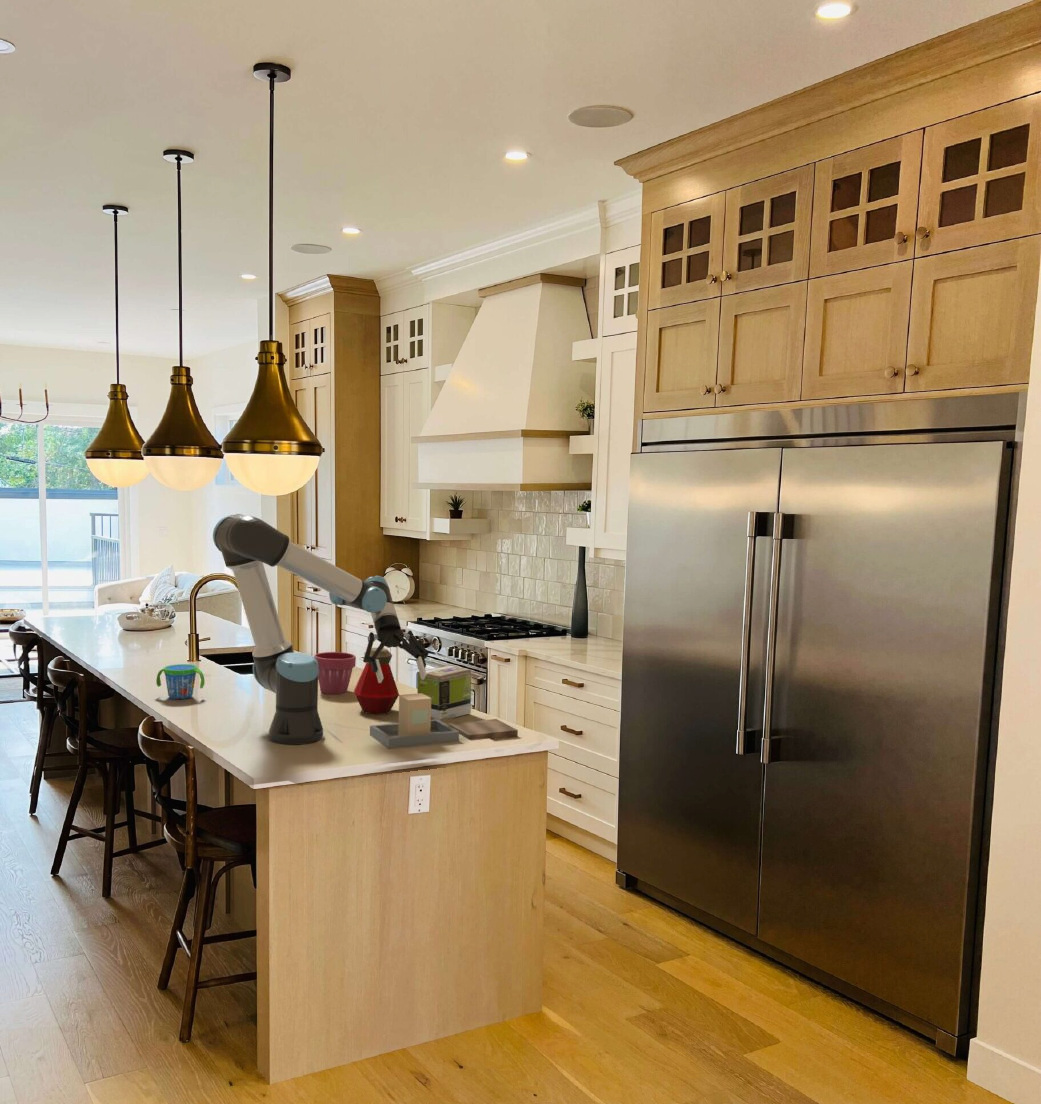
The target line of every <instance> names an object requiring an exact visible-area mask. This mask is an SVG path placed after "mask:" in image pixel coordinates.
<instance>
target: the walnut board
mask: <svg viewBox="0 0 1041 1104" xmlns="http://www.w3.org/2000/svg"><path fill="white" fill-rule="evenodd" d="M448 726H450V727H452V728H454V729H455V730H457V731H459V736H462V737H464V738H465V739H467V740H474V739H475V740H476V739H485V738H488V739H489V740H499V738H501V739H509V738H516V737H517V738H518V736H519V735H518V734H519V733H518V732H519V731H518V729H517V728H515V727H513V726H511V725H509V724H507V723H505V722H503V721H501V720H499V719H497V718H491V719H484V720H483V719H482V720H472V721H471V720H470V721H462V722H452V723H451V722H450V723H448Z"/></svg>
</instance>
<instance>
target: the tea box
mask: <svg viewBox="0 0 1041 1104" xmlns="http://www.w3.org/2000/svg"><path fill="white" fill-rule="evenodd" d="M425 671H426V674H427V675H426V677H425V679H424V680H422V679H421V676H420V673H419V671H417V692H416V694H418V693H422V694H424V695H426V696H428V697H430V698H431V719H433V720H434V719H438V720H440V721H441V720H443V719H448V718H452V719H454V718H457V717H461V716H466V715H470V714H471V713H472V712H471V711H472V707H471V706H472V704H471V703H472V701H471V700H472V669H471V668H470V669H468V668H463V667H459V666H452V665H444V666H440V667H435V668H430V669H429V668H428V669H425Z"/></svg>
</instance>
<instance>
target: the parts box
mask: <svg viewBox="0 0 1041 1104" xmlns="http://www.w3.org/2000/svg"><path fill="white" fill-rule="evenodd" d="M431 720H432V718H431V698H430V697H428V696H426V695H424V694H422V693H418V694H417V693H409V694H408V693H406V694H399V696H398V722H397V723H398V736H399V737H400V736H410V735H420V734H430V728H431Z"/></svg>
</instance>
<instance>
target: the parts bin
mask: <svg viewBox="0 0 1041 1104" xmlns="http://www.w3.org/2000/svg"><path fill="white" fill-rule="evenodd" d="M369 736H371V737H372V738H373V739H375V741H377V742H379V743H380V744H381V745H382V746H385V748H387V750H388V749H389V750H390V749H391V750H392V749H398V748H399V749H400V748H407V747H417V746H418V747H419V746H425V745H437V744H445V743H453V742H459V741H460V734H459V731H457V730H455V729H454V728H452V727H450V726H449V724H447V723H445V722H443V721H442V720H441V719H440V720H438V719H434V718H433V719H431V728H430V734H420V735H410V736H400V737H399V736H398V722H395V723H385V724H384V723H383V724H374V725H373V724H372V725H369Z"/></svg>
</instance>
